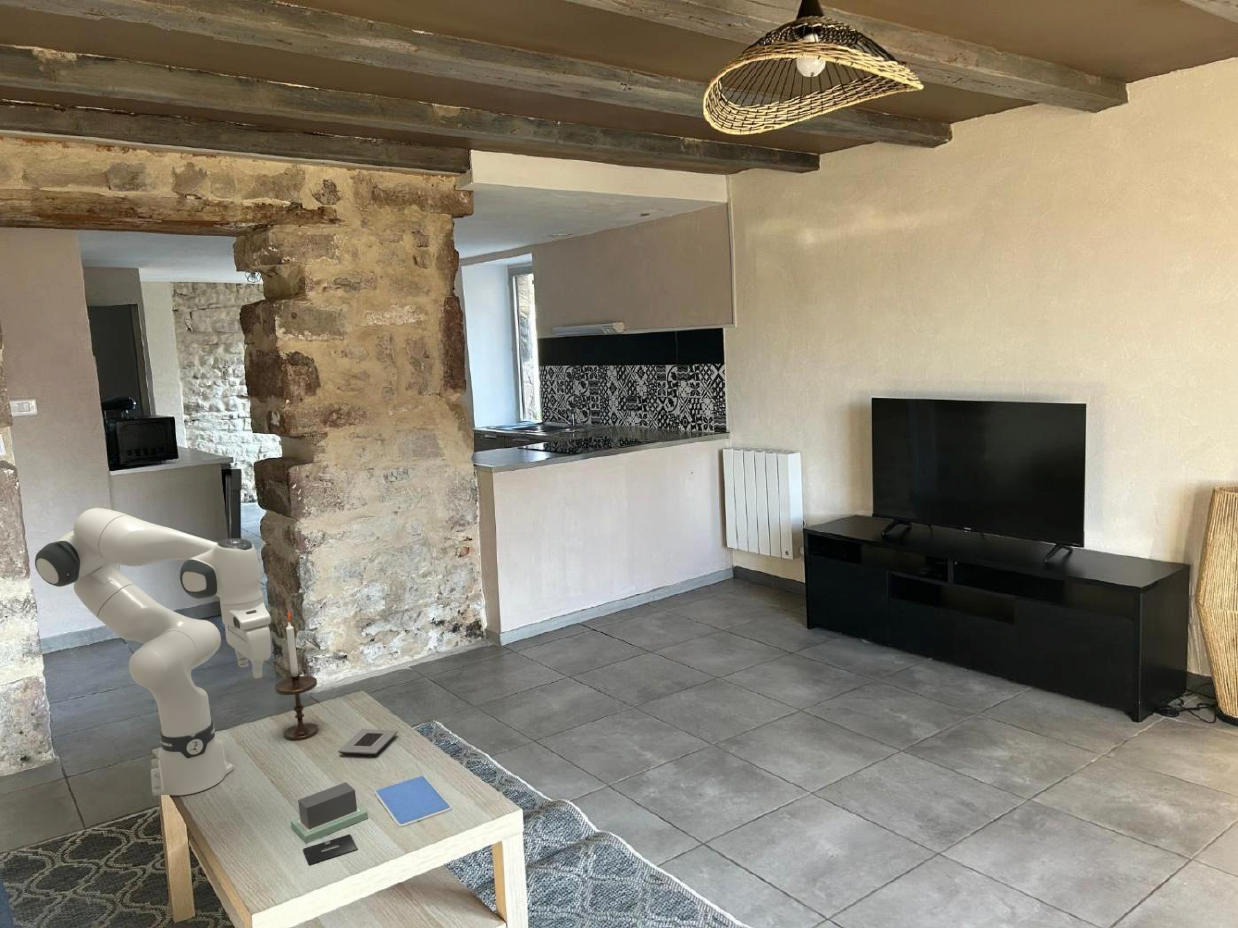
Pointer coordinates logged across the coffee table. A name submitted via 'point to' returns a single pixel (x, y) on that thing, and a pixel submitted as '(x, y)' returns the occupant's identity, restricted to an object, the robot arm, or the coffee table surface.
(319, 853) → the solid state drive
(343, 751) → the grey flat piece
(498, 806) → the coffee table surface
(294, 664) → the candlestick
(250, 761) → the coffee table surface
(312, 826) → the block
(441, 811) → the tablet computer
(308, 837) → the header board
